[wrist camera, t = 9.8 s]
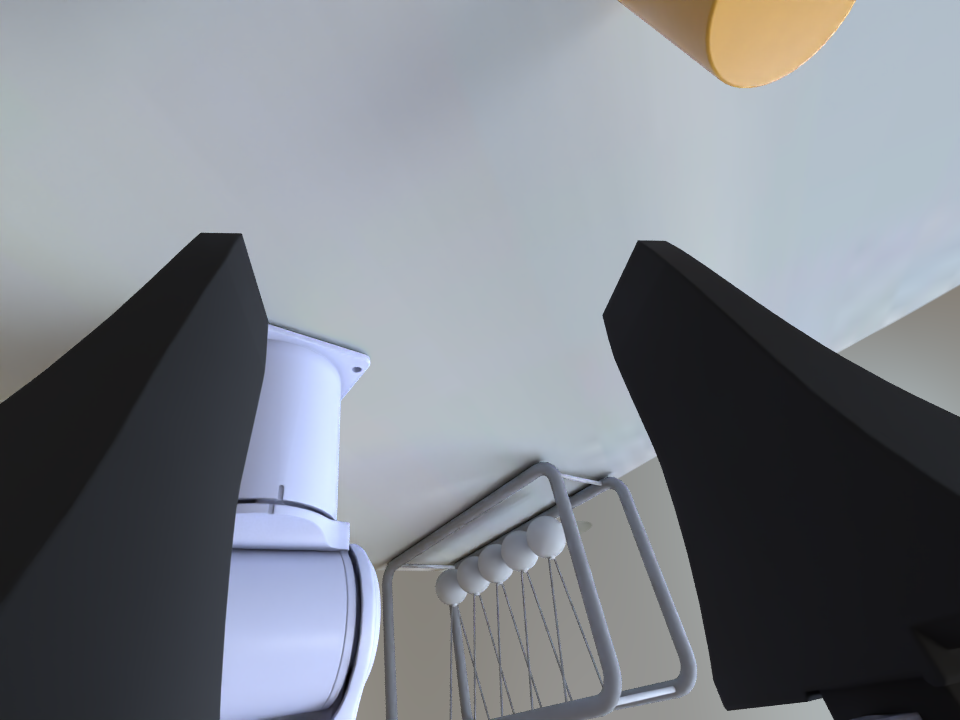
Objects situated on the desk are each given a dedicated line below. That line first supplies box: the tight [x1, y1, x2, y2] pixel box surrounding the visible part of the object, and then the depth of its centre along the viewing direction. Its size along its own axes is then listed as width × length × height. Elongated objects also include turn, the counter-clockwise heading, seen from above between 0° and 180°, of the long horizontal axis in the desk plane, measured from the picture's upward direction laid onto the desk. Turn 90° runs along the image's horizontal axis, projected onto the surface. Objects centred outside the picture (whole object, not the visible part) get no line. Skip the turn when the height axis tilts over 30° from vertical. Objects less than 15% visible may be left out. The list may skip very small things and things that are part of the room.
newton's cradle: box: [382, 462, 697, 720], centre depth 44 cm, size 30×10×18 cm, turn 142°
